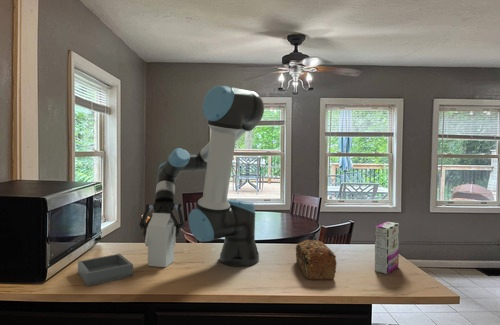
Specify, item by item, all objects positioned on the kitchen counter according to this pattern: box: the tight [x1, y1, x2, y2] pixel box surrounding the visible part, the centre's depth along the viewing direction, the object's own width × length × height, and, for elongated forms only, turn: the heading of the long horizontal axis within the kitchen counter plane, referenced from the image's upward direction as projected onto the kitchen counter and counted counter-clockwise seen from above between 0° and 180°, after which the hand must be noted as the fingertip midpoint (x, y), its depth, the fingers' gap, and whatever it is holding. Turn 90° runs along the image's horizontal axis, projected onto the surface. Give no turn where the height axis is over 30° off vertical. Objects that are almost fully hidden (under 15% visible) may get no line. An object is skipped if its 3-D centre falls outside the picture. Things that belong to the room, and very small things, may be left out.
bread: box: [295, 239, 337, 281], centre depth 118 cm, size 19×11×10 cm, turn 2°
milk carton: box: [147, 212, 175, 268], centre depth 122 cm, size 7×7×19 cm
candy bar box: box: [374, 221, 400, 275], centre depth 119 cm, size 11×5×16 cm, turn 137°
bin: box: [77, 253, 134, 287], centre depth 112 cm, size 14×14×4 cm
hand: (160, 244), depth 119 cm, fingers closed on milk carton, 9 cm apart
